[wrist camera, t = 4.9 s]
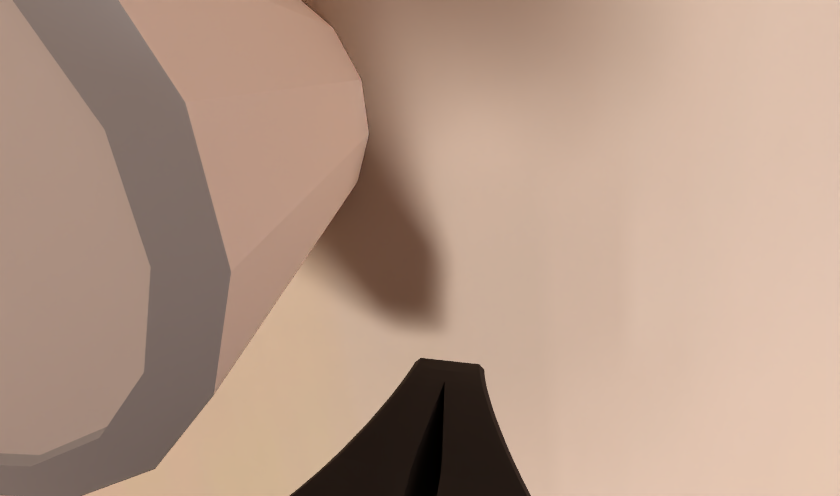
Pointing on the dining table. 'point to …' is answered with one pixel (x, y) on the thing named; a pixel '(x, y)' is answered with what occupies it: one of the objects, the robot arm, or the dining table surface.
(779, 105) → the dining table surface
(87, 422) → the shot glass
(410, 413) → the robot arm
